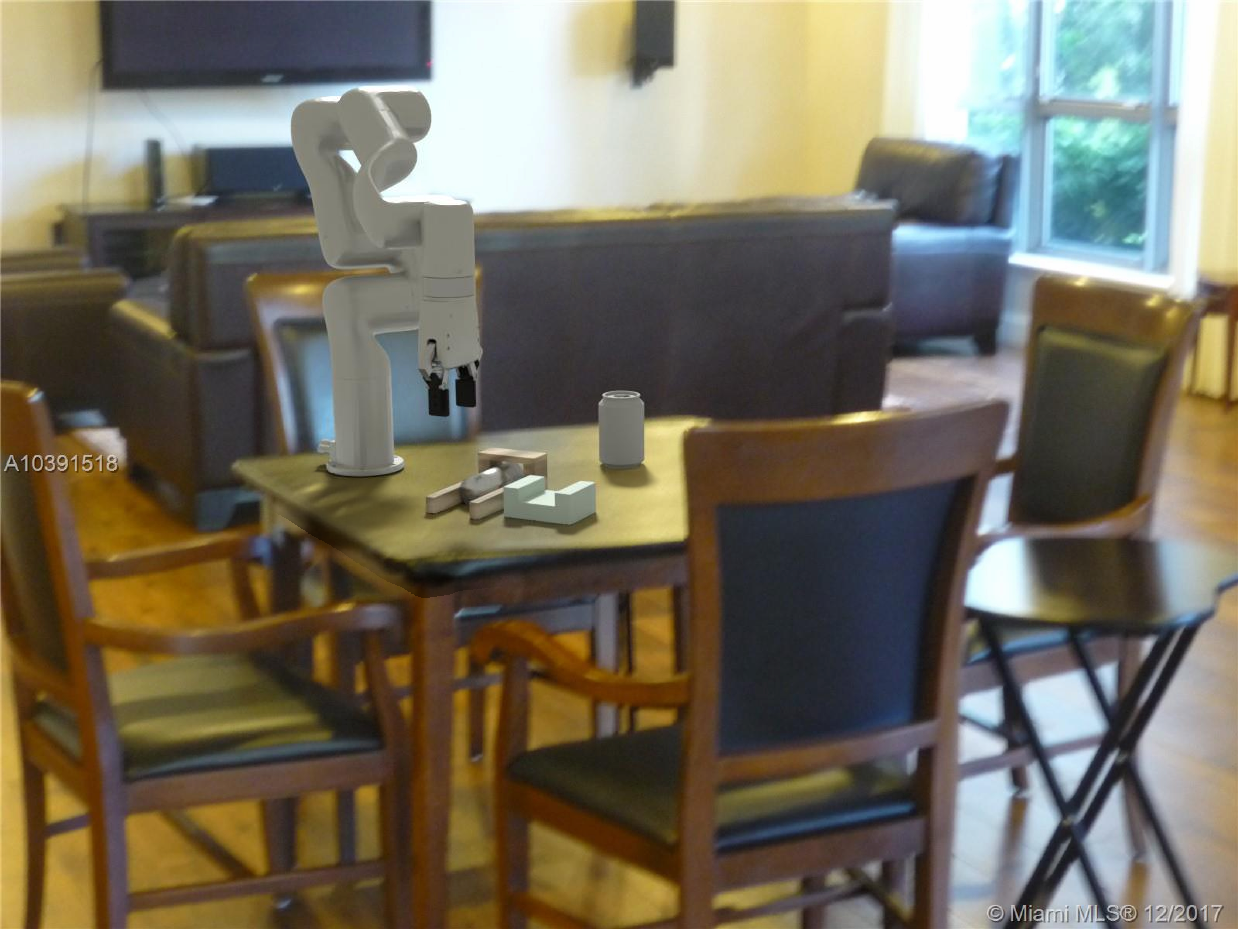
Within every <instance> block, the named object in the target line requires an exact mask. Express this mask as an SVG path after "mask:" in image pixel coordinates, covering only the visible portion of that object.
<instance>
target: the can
mask: <svg viewBox="0 0 1238 929" xmlns="http://www.w3.org/2000/svg"><path fill="white" fill-rule="evenodd" d="M601 395H602V399H601V400H600V401H599V402H598V461H599V462H600V463H601V464H603V466H604V467H606V468H610V469H616V470H617V469H619V470H622V469H623V470H625V469H626V470H627V469H634V468H637V467H639V466H640V465H641V464H642V463H643V462H644V461H645V403H644V401H643V400H642V399H641V398H640V397H641V394H640V393H639V392H636V391H630V390H615V391H614V390H612V391H607V392H604V393H603V394H601Z"/></svg>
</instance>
